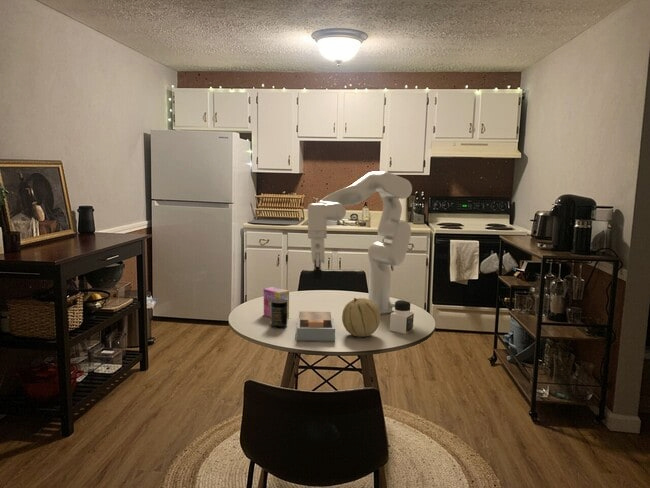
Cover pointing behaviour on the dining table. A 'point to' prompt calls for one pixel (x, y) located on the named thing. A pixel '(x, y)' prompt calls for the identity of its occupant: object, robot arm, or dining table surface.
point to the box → (274, 294)
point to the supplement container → (279, 313)
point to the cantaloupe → (361, 317)
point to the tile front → (315, 323)
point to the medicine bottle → (401, 317)
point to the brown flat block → (315, 317)
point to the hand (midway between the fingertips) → (317, 278)
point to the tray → (315, 333)
